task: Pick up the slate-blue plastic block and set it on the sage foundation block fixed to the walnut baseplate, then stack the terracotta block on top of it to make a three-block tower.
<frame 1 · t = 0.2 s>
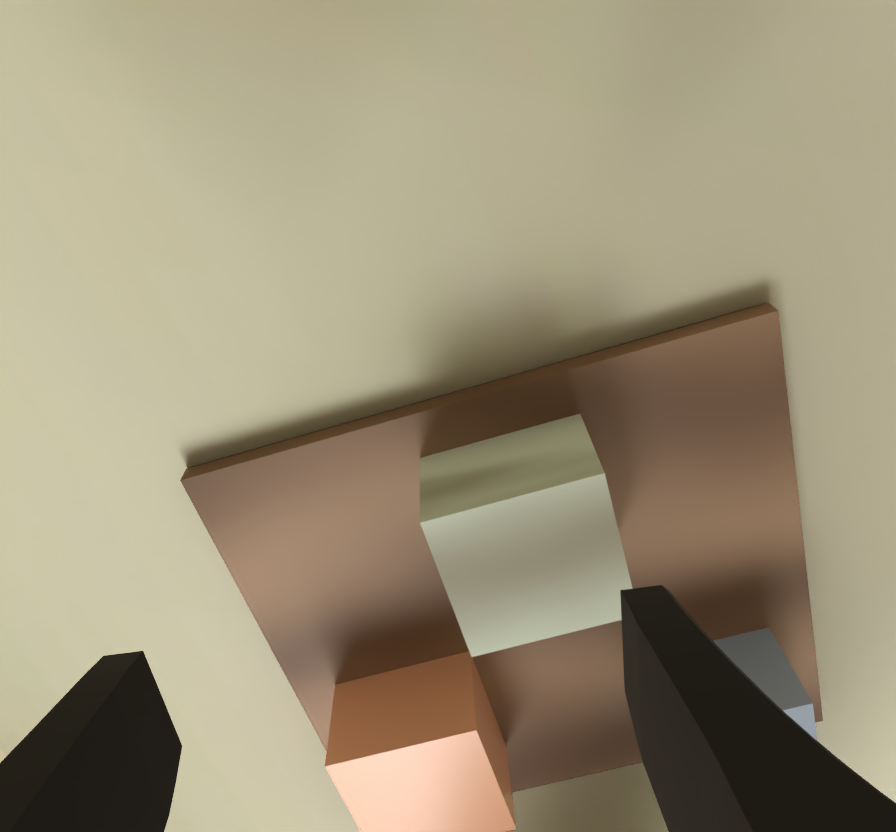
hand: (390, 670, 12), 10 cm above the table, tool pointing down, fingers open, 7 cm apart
brick slate: (707, 693, 25), point 1 cm above the table, touching build board
build board: (533, 600, 24), on the table
brick terracotta: (423, 716, 25), point 1 cm above the table, touching build board
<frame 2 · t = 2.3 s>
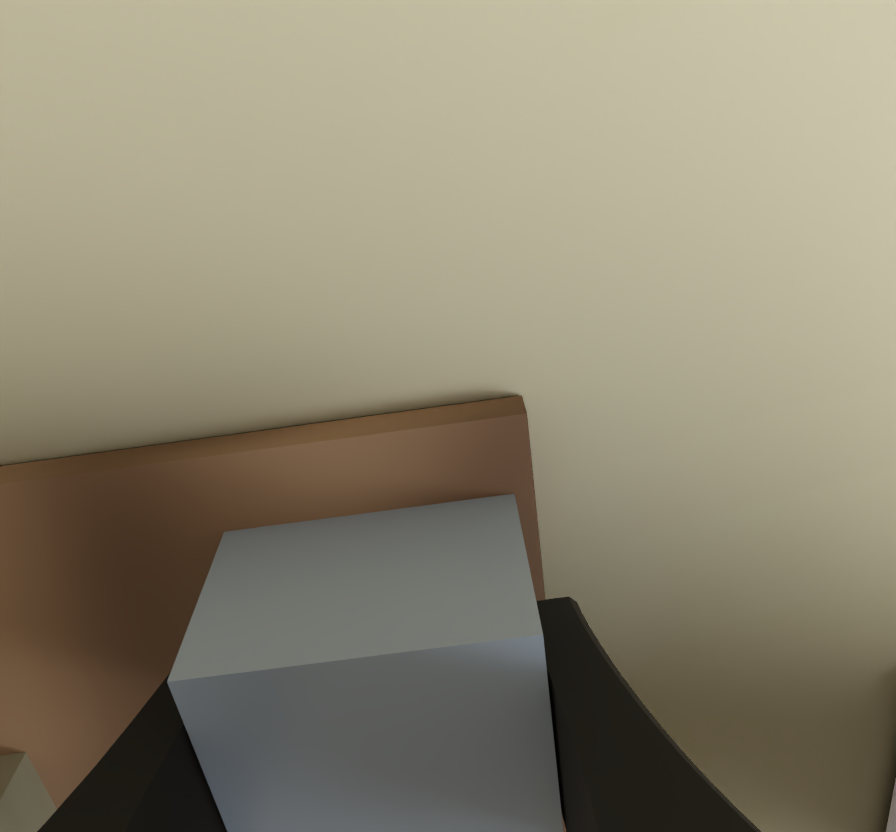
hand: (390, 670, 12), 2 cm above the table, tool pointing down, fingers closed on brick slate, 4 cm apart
brick slate: (392, 624, 13), point 1 cm above the table, touching build board, gripper
build board: (180, 810, 15), on the table
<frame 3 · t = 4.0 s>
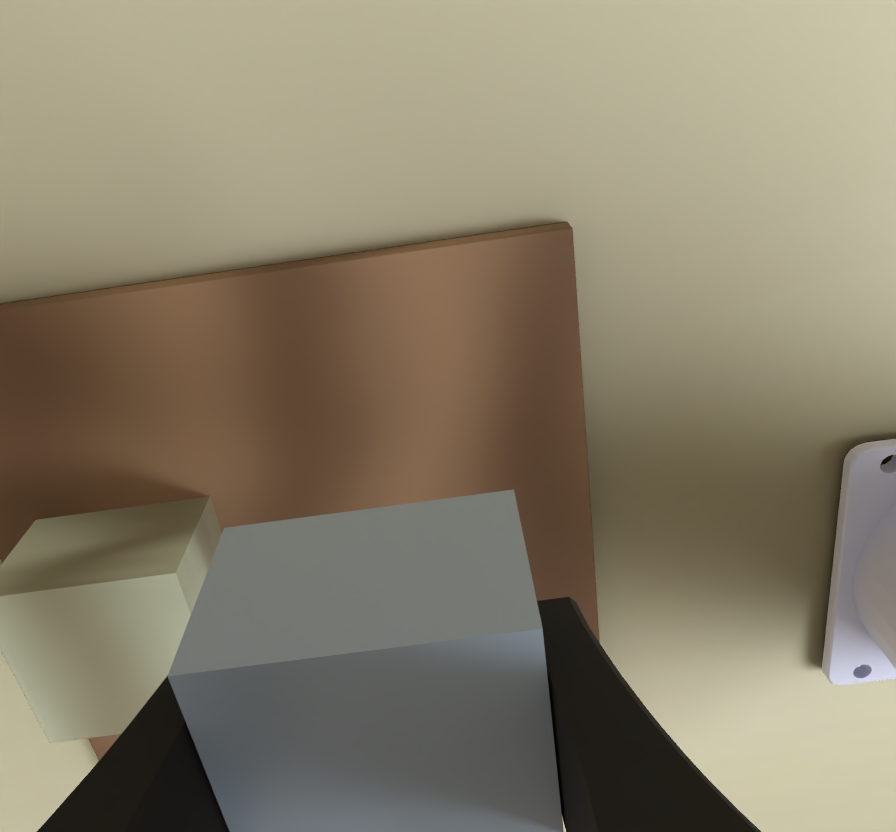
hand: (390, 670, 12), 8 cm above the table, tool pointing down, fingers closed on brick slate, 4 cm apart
brick slate: (392, 621, 13), point 7 cm above the table, touching gripper
build board: (308, 559, 21), on the table
when the fingers open (6 cm above the table, at t = 5.8 s): brick slate stays where it is, resting on build board.
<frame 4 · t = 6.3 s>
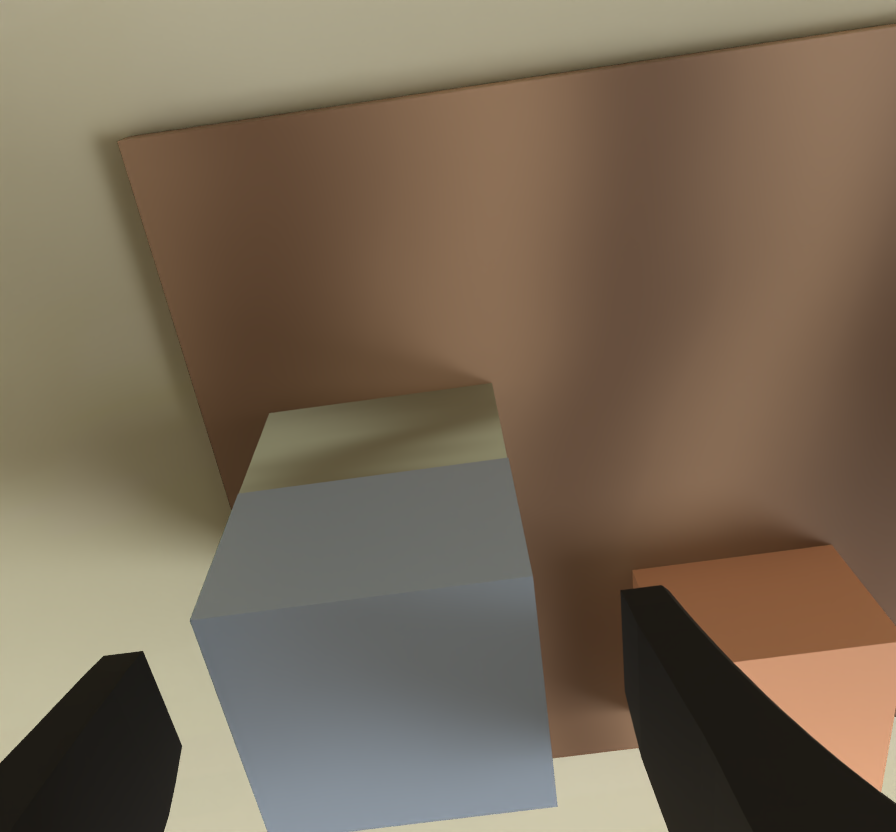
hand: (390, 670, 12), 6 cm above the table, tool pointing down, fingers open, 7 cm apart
brick slate: (394, 583, 14), point 4 cm above the table, touching build board
build board: (585, 472, 17), on the table
brick terracotta: (728, 632, 18), point 1 cm above the table, touching build board
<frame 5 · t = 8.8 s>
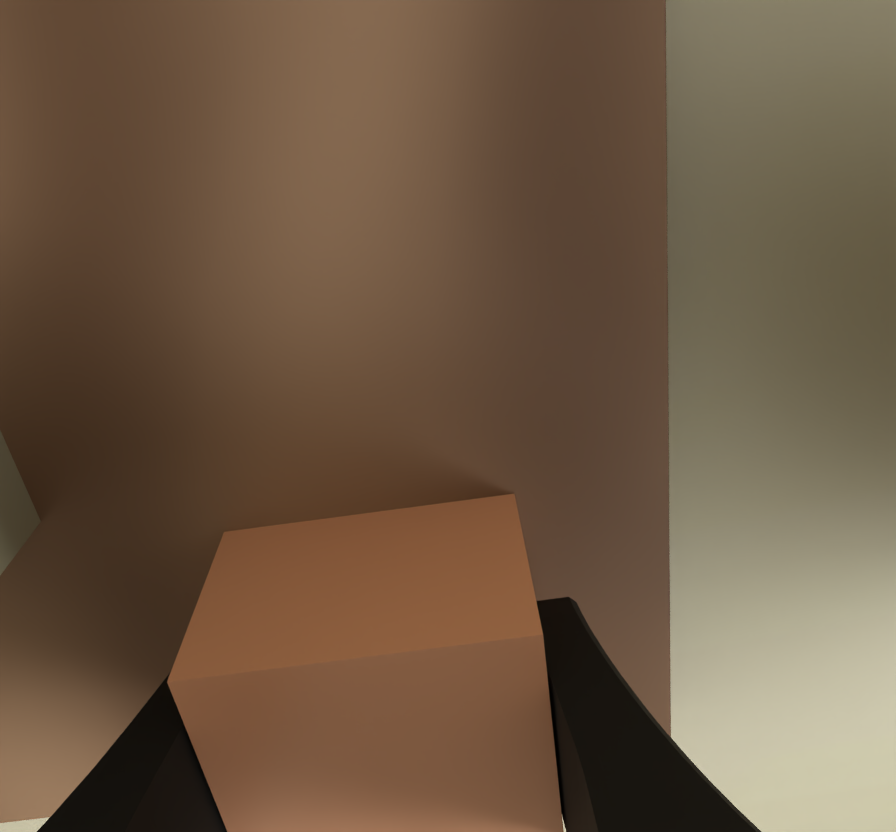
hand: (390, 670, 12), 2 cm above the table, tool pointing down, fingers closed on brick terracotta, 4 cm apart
build board: (137, 384, 11), on the table
brick terracotta: (392, 625, 13), point 1 cm above the table, touching build board, gripper
when the fingers open (9 cm above the table, at t = 12.3 s): brick terracotta stays where it is, resting on brick slate.
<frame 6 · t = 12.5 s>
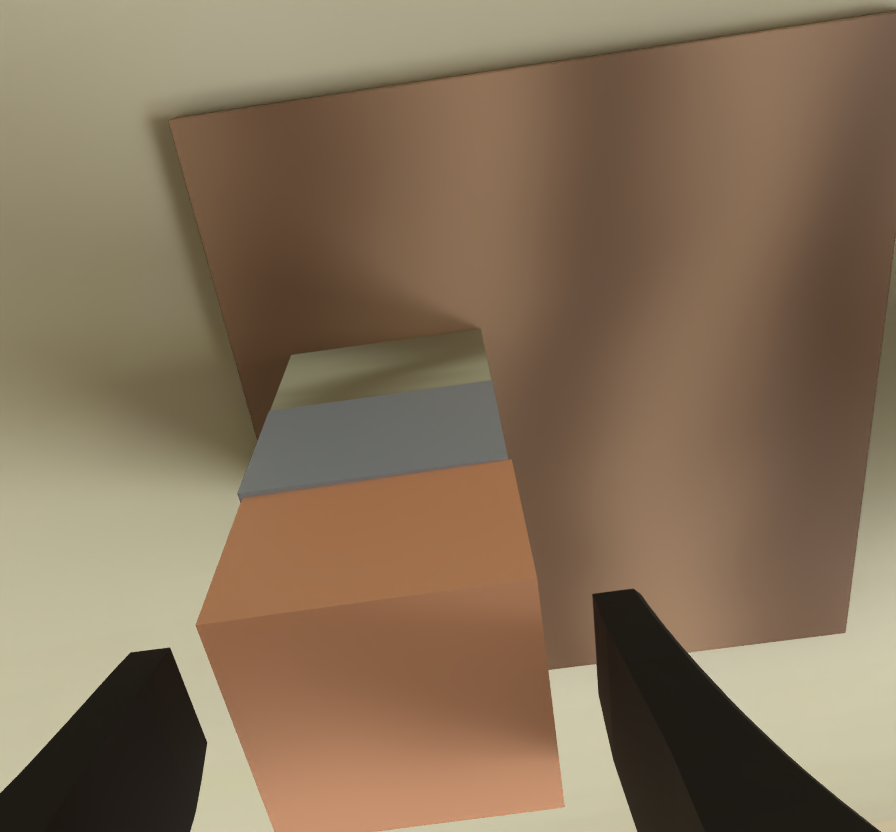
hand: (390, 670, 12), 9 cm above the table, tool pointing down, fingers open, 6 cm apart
brick slate: (398, 490, 16), point 4 cm above the table, touching brick terracotta, build board
build board: (562, 411, 20), on the table
brick terracotta: (399, 585, 14), point 7 cm above the table, touching brick slate
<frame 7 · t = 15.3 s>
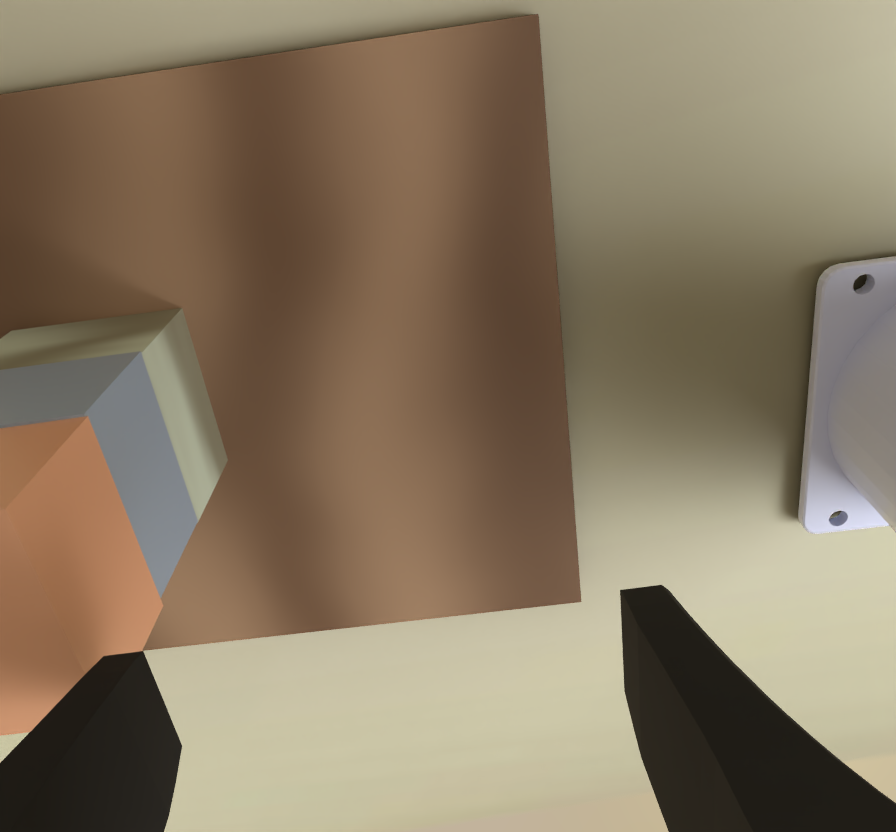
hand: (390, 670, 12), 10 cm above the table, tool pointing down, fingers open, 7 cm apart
brick slate: (76, 452, 18), point 4 cm above the table, touching brick terracotta, build board
build board: (282, 386, 21), on the table
brick terracotta: (18, 531, 15), point 7 cm above the table, touching brick slate
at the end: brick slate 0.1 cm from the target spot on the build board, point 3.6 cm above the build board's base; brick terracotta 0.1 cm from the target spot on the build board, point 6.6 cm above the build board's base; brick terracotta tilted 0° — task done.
